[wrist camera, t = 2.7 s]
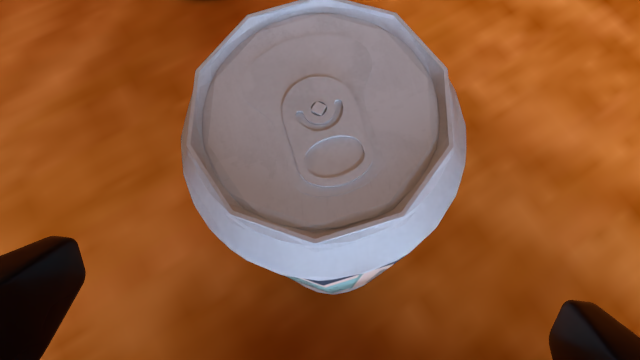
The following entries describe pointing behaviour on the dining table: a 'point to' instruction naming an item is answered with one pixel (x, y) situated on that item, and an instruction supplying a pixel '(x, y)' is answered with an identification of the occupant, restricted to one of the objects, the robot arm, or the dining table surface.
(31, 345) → the robot arm
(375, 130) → the beer can
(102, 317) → the dining table surface
